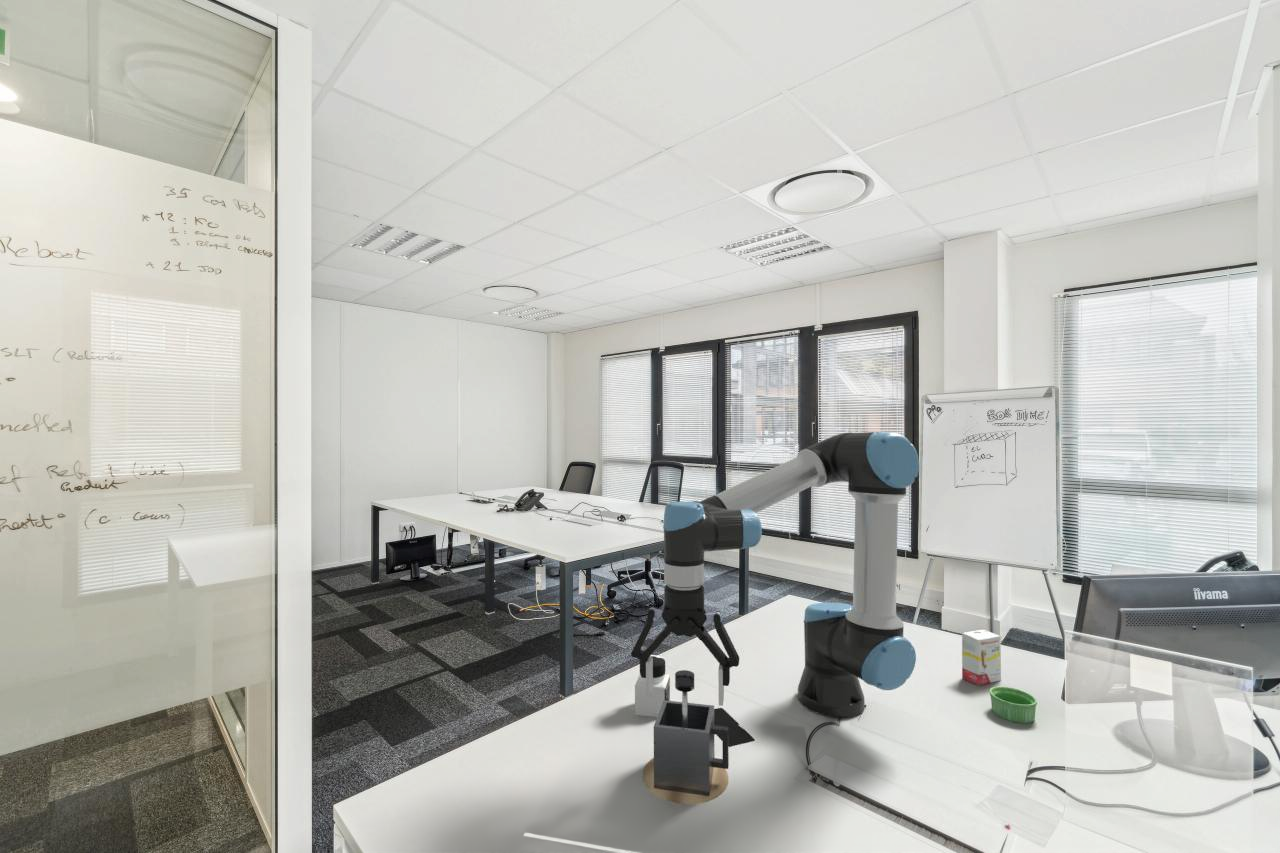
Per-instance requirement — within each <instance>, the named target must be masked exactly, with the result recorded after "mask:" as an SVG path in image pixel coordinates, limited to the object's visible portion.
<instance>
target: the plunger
mask: <svg viewBox="0 0 1280 853" xmlns="http://www.w3.org/2000/svg"><path fill="white" fill-rule="evenodd" d="M674 677H675V678H674V680H675V682H674V683H675V684H674V686H675V689H676V690H677V691H679V692H681V699H682V700H681V702H682V728H688V703H689V702H688V701H689V700H688V696H689V695H688V692H692V691H693V690H695V673H694V672H693V671H691V670H685V669H682V670H681V669H680V670H678V671H676V672H675V673H674Z"/></svg>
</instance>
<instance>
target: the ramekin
mask: <svg viewBox="0 0 1280 853" xmlns="http://www.w3.org/2000/svg"><path fill="white" fill-rule="evenodd" d="M988 693H989V696H990V701H991V702H990V703H991V709H992V711H993V713H994V714H995V715H997V716H999V718H1002V719H1003V720H1006V721H1010V722H1013V723H1021V724H1028V723H1032V722H1034V721H1035V719H1036V708H1037V704H1038V701H1037V698H1036V697H1035V696H1034V695H1032V694H1030V693H1028V692H1026V691H1024V690H1021V689H1019V688H1014V687H1009V686H994V687H993V686H992V687H991V688H989V692H988Z"/></svg>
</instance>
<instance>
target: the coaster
mask: <svg viewBox="0 0 1280 853" xmlns="http://www.w3.org/2000/svg"><path fill="white" fill-rule="evenodd" d="M642 779H643V780H642V781H643V783H644V785H645V786H646V788H647V789H648V791H650V792H651V793H652V794H653V795H655V796H656V797H658V798H659V799H661V800H664V801H666V802H669V803H674V804H679V805H699V804H705V803H707V802H711V801H713V800H715V799H716V798H718V797H720V796H721V795H722V794H723V793H724V792H725V791H726V789H727V787H728V785H729V781H730V780H729V773H728V771H727V769H723V768H716V767H714V770H713V776H712V783H711V790H710V796H704V795H697V794H690V793H683V792H676V791H669V790H663V789H656V788H654V757H652V758H651V759H650V760H649V761H648V762H647V763H646V764H645V766H644V767H643V772H642Z"/></svg>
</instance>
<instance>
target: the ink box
mask: <svg viewBox="0 0 1280 853" xmlns="http://www.w3.org/2000/svg"><path fill="white" fill-rule="evenodd" d="M1001 639H1002V638H1001V636H1000V635H999V634H997V633H994V632H991V631H989V630H987V629H977V630H973V631H972V630H971V631H965V632H963V633H962V634H961V646H962V647H961V653H962V654H961V656H962V657H961V660H962V661H961V677H962V679H963V680H966V681H968V682H971V683H972V684H975V685H977V686H983V685H988V684H990V683H991V684H992V683H996V682H1000V681H1002V661H1001V655H1002V653H1001V649H1002V648H1001V642H1002V641H1001Z"/></svg>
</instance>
